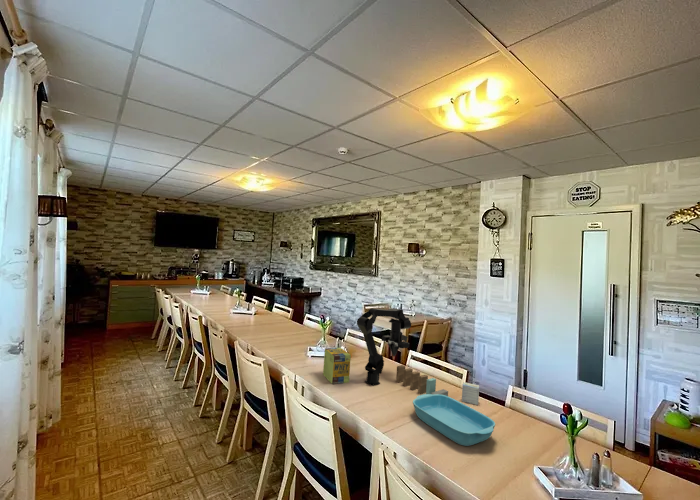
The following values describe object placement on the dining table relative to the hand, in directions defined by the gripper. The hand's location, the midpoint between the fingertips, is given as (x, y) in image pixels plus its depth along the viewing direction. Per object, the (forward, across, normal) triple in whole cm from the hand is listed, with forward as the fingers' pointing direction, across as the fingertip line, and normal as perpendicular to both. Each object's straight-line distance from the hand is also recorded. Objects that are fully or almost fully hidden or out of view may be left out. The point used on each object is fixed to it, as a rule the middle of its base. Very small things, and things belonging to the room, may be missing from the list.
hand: (394, 356), depth 188 cm
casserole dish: (+14, -53, +14) cm, 56 cm away
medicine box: (+13, -42, -16) cm, 46 cm away
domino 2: (+13, -12, 0) cm, 17 cm away
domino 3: (+13, -17, -1) cm, 22 cm away
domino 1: (+13, -6, 0) cm, 14 cm away
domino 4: (+13, -23, -1) cm, 26 cm away
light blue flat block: (+13, -28, -1) cm, 31 cm away
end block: (+13, -34, -1) cm, 36 cm away
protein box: (+13, +14, +32) cm, 37 cm away
